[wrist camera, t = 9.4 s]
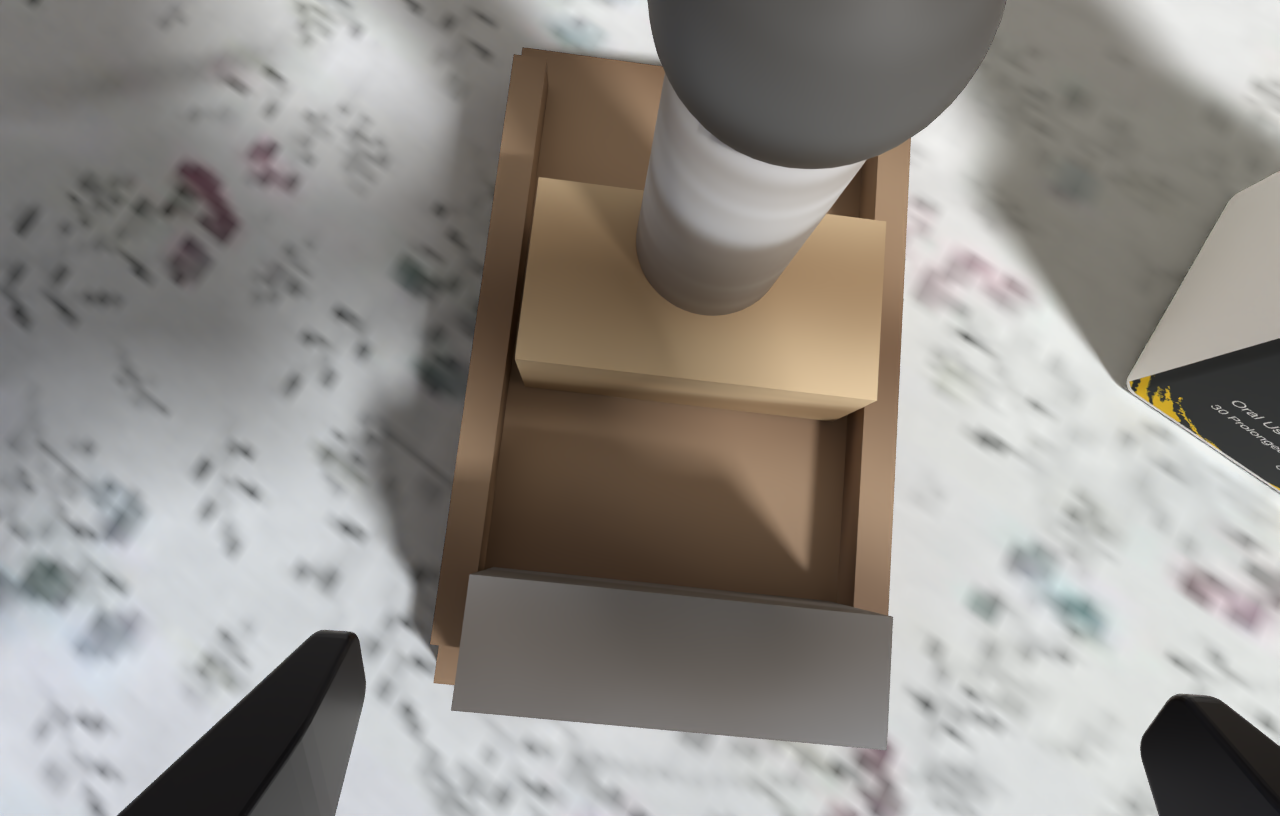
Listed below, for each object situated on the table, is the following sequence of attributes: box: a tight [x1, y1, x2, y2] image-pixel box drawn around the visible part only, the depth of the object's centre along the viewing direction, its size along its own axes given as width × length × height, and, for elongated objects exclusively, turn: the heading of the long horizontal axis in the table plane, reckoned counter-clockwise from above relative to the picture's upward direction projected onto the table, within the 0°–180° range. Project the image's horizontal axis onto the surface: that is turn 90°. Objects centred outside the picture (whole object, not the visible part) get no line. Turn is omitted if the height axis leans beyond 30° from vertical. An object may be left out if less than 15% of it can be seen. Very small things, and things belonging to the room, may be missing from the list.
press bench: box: [430, 47, 911, 750], centre depth 18 cm, size 16×10×6 cm, turn 174°
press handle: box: [515, 0, 1006, 422], centre depth 13 cm, size 5×8×13 cm, turn 84°
